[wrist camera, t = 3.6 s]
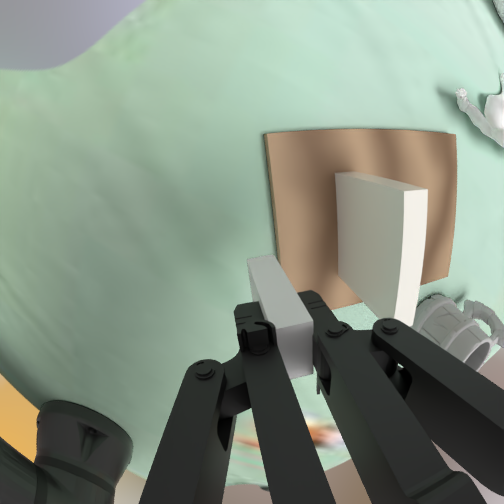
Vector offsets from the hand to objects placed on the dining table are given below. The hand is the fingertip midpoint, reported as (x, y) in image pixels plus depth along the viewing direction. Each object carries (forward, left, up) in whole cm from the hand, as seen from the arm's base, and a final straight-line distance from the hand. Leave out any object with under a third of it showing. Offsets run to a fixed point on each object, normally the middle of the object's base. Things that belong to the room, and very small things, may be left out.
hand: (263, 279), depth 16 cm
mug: (+23, -14, -8) cm, 29 cm away
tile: (+8, 0, -7) cm, 11 cm away
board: (+12, 0, -8) cm, 15 cm away
